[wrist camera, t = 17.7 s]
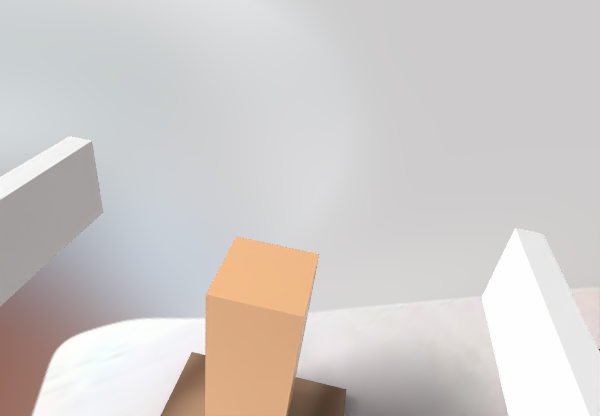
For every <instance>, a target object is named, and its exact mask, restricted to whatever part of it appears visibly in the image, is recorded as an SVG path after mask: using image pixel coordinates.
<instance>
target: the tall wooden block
mask: <svg viewBox="0 0 600 416" xmlns="http://www.w3.org/2000/svg"><path fill="white" fill-rule="evenodd" d="M318 257H319V254H315V253H311V252H306V251H301V250H297V249H291V248H287V247H283V246H278V245H273V244H268V243H264V242H259V241H254V240H250V239H245V238H241V237H236V238H235V240H234V242H233V244H232V246H231V248H230V250H229V252H228V254H227V256H226V258H225V259H224V261H223V263H222V265H221V267H220V269H219V271H218V273H217V274H216V276H215V278H214V281H213V282H212V284H211V286H210V288H209V290H208V292H207V294H206V351H205V416H288V412H289V408H290V403H291V399H292V393H293V388H294V383H295V378H296V372H297V367H298V362H299V357H300V352H301V346H302V341H303V336H304V331H305V325H306V320H307V315H308V310H309V305H310V299H311V294H312V289H313V284H314V278H315V273H316V268H317V262H318Z"/></svg>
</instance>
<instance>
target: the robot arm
mask: <svg viewBox="0 0 600 416" xmlns="http://www.w3.org/2000/svg"><path fill="white" fill-rule="evenodd" d="M102 213H103V209H102V203H101V196H100V189H99V183H98V177H97V170H96V164H95V158H94V151H93V145H92V141H90V140H86V139H81V138H76V137H71V136H69V137H68V138H66V139H64V140H62V141H61V142H59V143H57V144H56V145H54V146H52V147H51V148H49V149H47V150H46V151H44V152H42V153H40V154H39V155H37V156H35V157H33V158H32V159H30V160H28V161H27V162H25V163H23V164H22V165H20V166H18V167H16V168H15V169H13V170H11V171H10V172H8V173H6V174H5V175H3V176H1V177H0V306H1V305H2V304H3V303H4V302H5V301H6V300H7V299H8V298H10V297H11V296H12V295H13V294H14V293H15V292H16V291H17V290H18V289H19V288H20V287H22V286H23V285H24V284H25V283H26V282H27V281H28V280H29V279H30V278H31V277H33V276H34V275H35V274H36V273H37V272H38V271H39V270H40V269H41V268H42V267H44V266H45V265H46V264H47V263H48V262H49V261H50V260H51V259H52V258H53V257H55V256H56V255H57V254H58V253H59V252H60V251H61V250H62V249H63V248H65V246H67V245H68V244H69V243H70V242H71V241H72V240H73V239H74V238H76V237H77V236H78V235H79V234H80V233H81V232H82V231H83V230H84V229H85V228H87V226H89V224H91V223H92V222H93V221H94V220H95V219H96V218H98V217H99V216H100V215H101V214H102ZM482 301H483V305H484V310H485V314H486V319H487V323H488V328H489V332H490V336H491V341H492V345H493V350H494V354H495V359H496V363H497V367H498V372H499V376H500V381H501V385H502V390H503V394H504V398H505V403H506V407H507V412H508V416H600V349H598V347H597V345H596V343H595V341H594V338H593V336H592V334H591V332H590V330H589V328H588V326H587V324H586V322H585V320H584V318H583V316H582V314H581V312H580V310H579V307H578V305H577V303H576V301H575V299H574V297H573V295H572V293H571V291H570V289H569V287H568V285H567V283H566V281H565V279H564V276H563V274H562V272H561V270H560V268H559V266H558V264H557V262H556V260H555V258H554V256H553V254H552V252H551V250H550V248H549V245H548V243H547V241H546V239H545V237H544V235H543V234H541V233H537V232H532V231H527V230H522V229H518V228H515V230H514V232H513V234H512V236H511V238H510V240H509V242H508V244H507V246H506V248H505V250H504V253H503V254H502V256H501V258H500V260H499V262H498V265H497V267H496V269H495V271H494V273H493V275H492V277H491V279H490V281H489V283H488V285H487V287H486V289H485V292H484V293H483V295H482Z"/></svg>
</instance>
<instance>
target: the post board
mask: <svg viewBox="0 0 600 416" xmlns="http://www.w3.org/2000/svg"><path fill="white" fill-rule="evenodd" d="M345 394H346V389H342V388H338V387H334V386H330V385H325V384H321V383H317V382H313V381H309V380H305V379H301V378H297V377H296V378H295V383H294V388H293V393H292V399H291V403H290V408H289V412H288V416H343V413H344V403H345ZM161 416H205V355H202V354H198V353H194V352H192V353H191V355H190V357H189V359H188V361H187V363H186V365H185V367H184V369H183V371H182V373H181V375H180V377H179V379H178V381H177V384H176V386H175V388H174V390H173V392H172V394H171V396H170V398H169V400H168V402H167V404H166V406H165V408H164V410H163V412H162V414H161Z"/></svg>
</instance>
